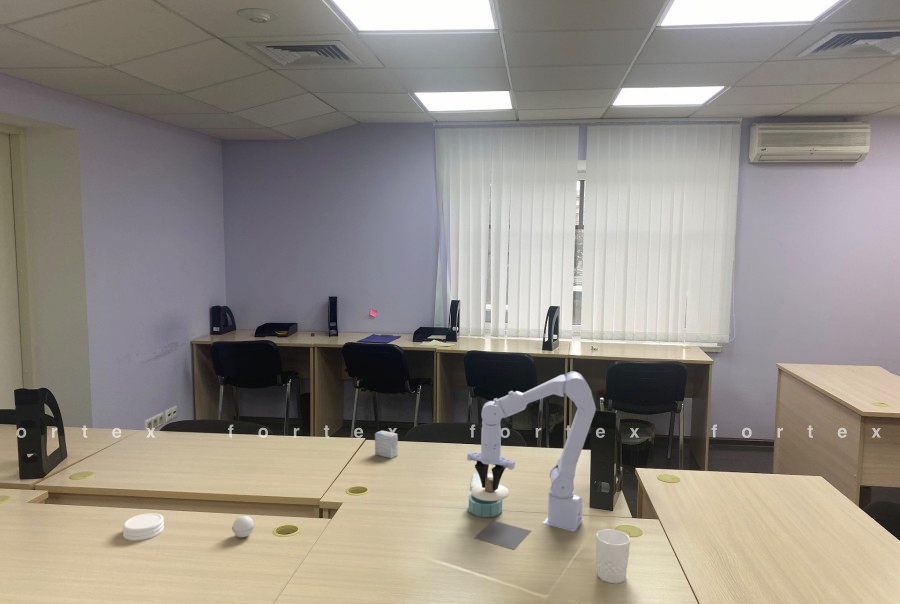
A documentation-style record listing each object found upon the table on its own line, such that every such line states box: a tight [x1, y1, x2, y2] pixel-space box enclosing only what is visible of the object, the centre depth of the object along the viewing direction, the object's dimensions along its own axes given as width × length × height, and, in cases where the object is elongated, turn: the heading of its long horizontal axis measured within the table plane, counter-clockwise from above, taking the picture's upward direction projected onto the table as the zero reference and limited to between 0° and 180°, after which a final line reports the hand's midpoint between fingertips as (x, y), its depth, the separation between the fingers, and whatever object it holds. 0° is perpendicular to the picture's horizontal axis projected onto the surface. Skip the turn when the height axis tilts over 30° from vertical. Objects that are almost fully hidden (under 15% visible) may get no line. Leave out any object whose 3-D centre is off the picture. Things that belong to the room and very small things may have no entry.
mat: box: [473, 520, 532, 551], centre depth 159 cm, size 12×12×1 cm
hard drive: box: [470, 472, 493, 490], centre depth 195 cm, size 2×8×12 cm
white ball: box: [231, 515, 255, 538], centre depth 156 cm, size 8×6×6 cm
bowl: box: [468, 493, 503, 518], centre depth 174 cm, size 10×10×4 cm
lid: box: [470, 477, 510, 501], centre depth 169 cm, size 11×11×4 cm
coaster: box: [122, 512, 165, 542], centre depth 158 cm, size 10×10×4 cm
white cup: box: [595, 528, 631, 584], centre depth 140 cm, size 8×8×10 cm
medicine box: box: [374, 430, 399, 459], centre depth 220 cm, size 8×4×9 cm, turn 58°
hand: (490, 487), depth 169 cm, fingers closed on lid, 3 cm apart
